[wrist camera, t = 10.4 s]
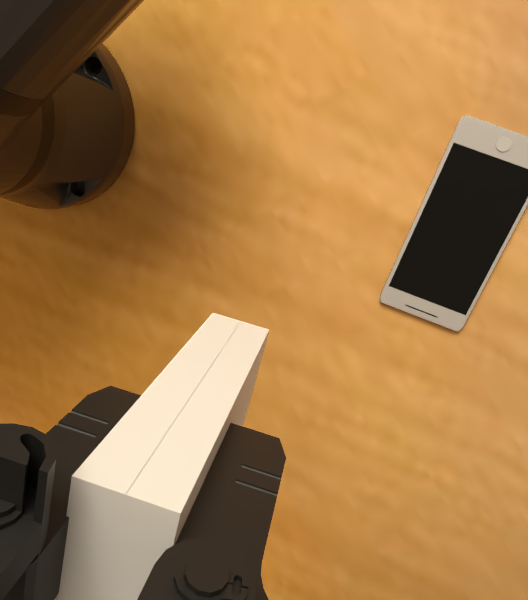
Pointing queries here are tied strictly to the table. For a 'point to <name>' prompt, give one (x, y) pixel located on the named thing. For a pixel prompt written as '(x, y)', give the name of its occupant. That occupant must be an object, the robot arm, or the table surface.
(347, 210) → the table surface
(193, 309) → the table surface
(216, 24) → the table surface
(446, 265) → the smartphone
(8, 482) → the robot arm
